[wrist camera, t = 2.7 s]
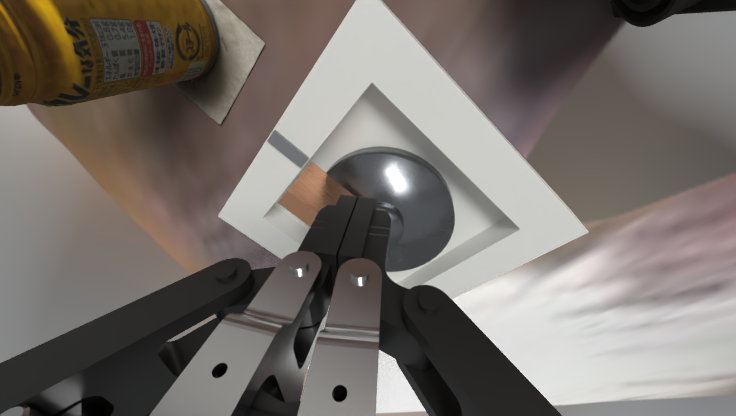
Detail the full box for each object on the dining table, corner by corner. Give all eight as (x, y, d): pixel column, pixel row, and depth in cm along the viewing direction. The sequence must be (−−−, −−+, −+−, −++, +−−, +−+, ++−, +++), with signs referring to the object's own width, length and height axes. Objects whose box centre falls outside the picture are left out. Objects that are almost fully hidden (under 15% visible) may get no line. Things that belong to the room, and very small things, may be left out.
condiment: (140, -77, 15) (-401, -281, 5) (266, 43, 17) (59, 62, 7) (116, 37, 19) (-225, 45, 9) (222, 123, 21) (46, 207, 11)
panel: (572, 211, 20) (590, 234, 18) (389, 310, 30) (386, 332, 28) (373, -9, 15) (365, -16, 13) (234, 200, 25) (216, 217, 23)
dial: (483, 214, 20) (502, 272, 16) (386, 276, 26) (377, 334, 21) (363, 98, 17) (339, 126, 12) (281, 198, 23) (243, 244, 18)
